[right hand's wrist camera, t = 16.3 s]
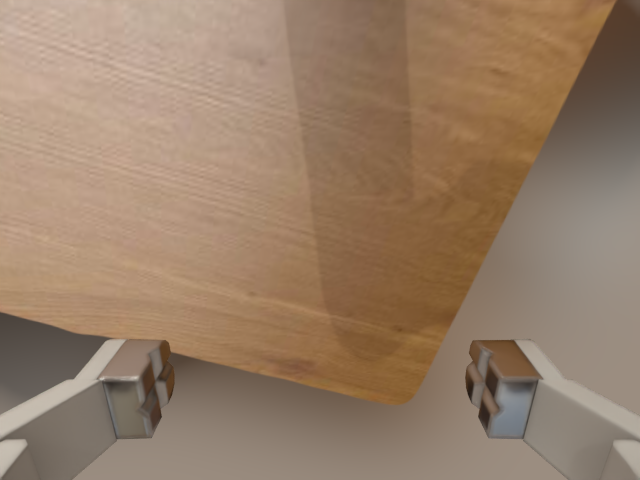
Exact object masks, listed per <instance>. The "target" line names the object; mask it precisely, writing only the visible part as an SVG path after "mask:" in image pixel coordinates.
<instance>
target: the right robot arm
mask: <svg viewBox="0 0 640 480" xmlns="http://www.w3.org/2000/svg"><path fill="white" fill-rule="evenodd" d="M170 354H171V351H170V346H169V343H168V342H167V341H166V340H141V339H129V340H128V339H110V340H108V341H106V342H105V343H104V344H103V345H102V346H101V348H100V349H99V350H98V351H97V352H96V354H95V355H94V356H93V357H92V358H91V360H90V361H89V362H88V363H87V364H86V365H85V367H84V368H83V369H82V370H81V371H80V373H79V374H78V375H77V376H76V377H75V379H74V380H66V381H64V382H62V383H60V384H58V385H57V386H55V387H53V388H51V389H49V390H47V391H45V392H43V393H41V394H39V395H38V396H36V397H34V398H32V399H30V400H28V401H26V402H24V403H22V404H20V405H18V406H17V407H15V408H13V409H11V410H9V411H7V412H5V413H3V414H1V415H0V480H72V479H73V478H75V477H76V476H77V475H78V474H79V473H80V472H81V471H83V470H84V469H85V468H86V467H87V466H88V465H90V464H91V463H92V462H93V461H94V460H95V459H97V458H98V457H99V456H100V455H101V454H102V453H103V452H105V451H106V450H107V449H108V448H109V447H110V446H112V445H113V444H114V443H115V442H116V441H117V440H116V439H139V438H152V436H153V434H154V432H155V430H156V428H157V426H158V424H159V422H160V419H161V417H162V416H161V410H160V409H161V408H162V407H164V406H165V405H167V404H168V403H169V400H170V398H171V396H172V392H173V388H174V368H173V366H172V365H171V364H170V363H169V362H168V361H167V360H168V358H169V356H170ZM469 354H470V356H471V358H472V360H473V361H472V362H471V363H470V364H469V365H468V366H467V369H466V377H465V379H466V389H467V392H468V396H469V398H470V400H471V403H472V404H473V405H475V406H476V407H477V408H479V409H480V410H479V416H478V417H479V419H480V421H481V424H482V426H483V428H484V430H485V432H486V434H487V436H488V438H499V439H523V441H524V442H525V443H526V444H528V445H529V446H530V447H531V448H532V449H533V450H534V451H536V452H537V453H538V454H539V455H540V456H541V457H543V458H544V459H545V460H546V461H547V462H548V463H549V464H551V465H552V466H553V467H554V468H555V469H556V470H557V471H559V472H560V473H561V474H562V475H563V476H564V477H566V478H567V479H568V480H640V415H639V414H637V413H635V412H633V411H631V410H629V409H627V408H625V407H623V406H621V405H620V404H618V403H616V402H614V401H612V400H610V399H608V398H606V397H604V396H602V395H601V394H599V393H597V392H595V391H593V390H591V389H589V388H587V387H585V386H583V385H582V384H580V383H578V382H576V381H574V380H566V379H565V377H564V376H563V375H562V374H561V373H560V372H559V370H558V369H557V368H556V367H555V366H554V364H553V363H552V362H551V361H550V360H549V358H548V357H547V356H546V355H545V354H544V352H543V351H542V350H541V349H540V348H539V346H538V345H537V344H536V343H535V342H534V341H533V340H531V339H513V340H473V341H472V343H471V345H470V351H469Z"/></svg>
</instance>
